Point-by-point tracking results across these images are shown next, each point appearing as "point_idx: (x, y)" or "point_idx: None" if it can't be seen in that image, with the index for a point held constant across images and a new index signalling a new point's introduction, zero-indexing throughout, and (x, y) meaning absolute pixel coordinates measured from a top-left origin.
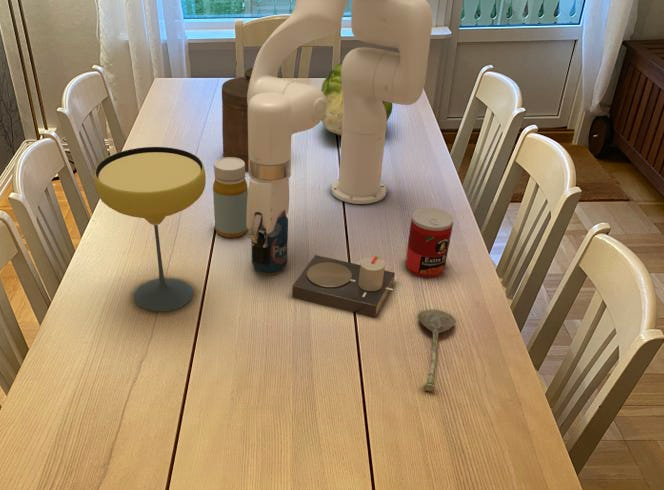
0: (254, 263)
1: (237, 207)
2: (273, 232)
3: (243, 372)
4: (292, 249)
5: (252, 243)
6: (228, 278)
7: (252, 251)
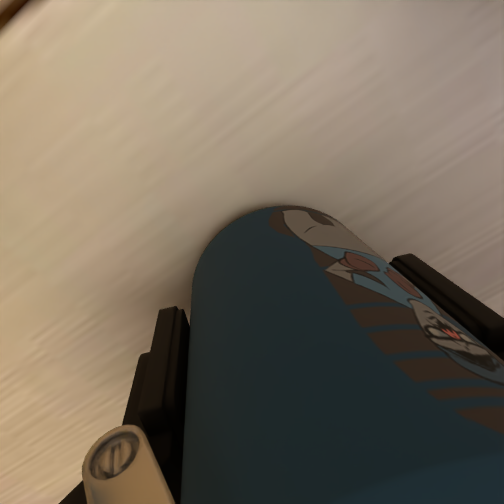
0: (197, 271)
1: None
2: None
3: None
4: (445, 265)
5: (84, 469)
6: (58, 179)
7: (210, 283)
